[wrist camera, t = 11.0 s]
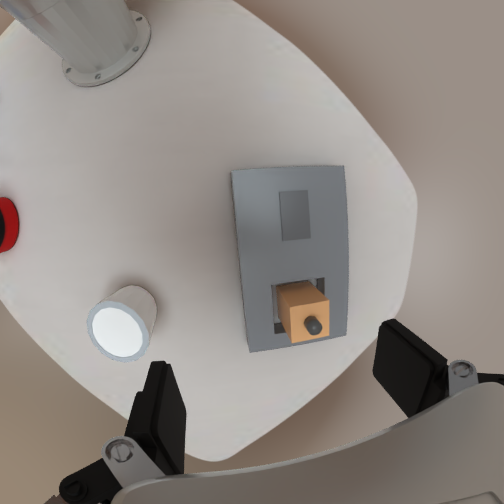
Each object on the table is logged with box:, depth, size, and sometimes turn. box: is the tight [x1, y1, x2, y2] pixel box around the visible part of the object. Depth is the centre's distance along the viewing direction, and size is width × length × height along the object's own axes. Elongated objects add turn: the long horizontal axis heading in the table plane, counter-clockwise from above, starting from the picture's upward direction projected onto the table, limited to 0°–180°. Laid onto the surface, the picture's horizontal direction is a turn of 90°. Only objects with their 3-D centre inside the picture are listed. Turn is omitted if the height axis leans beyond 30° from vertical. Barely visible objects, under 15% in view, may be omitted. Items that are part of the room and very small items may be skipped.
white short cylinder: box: [87, 285, 157, 362], centre depth 26 cm, size 7×7×7 cm
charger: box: [276, 281, 329, 343], centre depth 28 cm, size 4×4×8 cm
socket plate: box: [231, 166, 349, 353], centre depth 29 cm, size 20×12×3 cm, turn 5°
